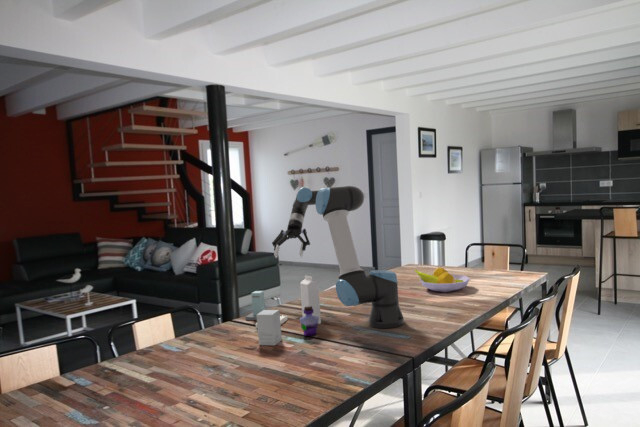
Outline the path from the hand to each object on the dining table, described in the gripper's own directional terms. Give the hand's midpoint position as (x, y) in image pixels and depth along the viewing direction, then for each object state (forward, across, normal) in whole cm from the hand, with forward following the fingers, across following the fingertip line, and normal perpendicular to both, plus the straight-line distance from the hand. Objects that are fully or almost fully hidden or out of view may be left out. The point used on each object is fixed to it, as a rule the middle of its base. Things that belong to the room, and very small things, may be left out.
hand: (288, 255), depth 241 cm
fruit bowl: (-12, -72, -53) cm, 90 cm away
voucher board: (+36, +2, -4) cm, 36 cm away
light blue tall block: (+27, +13, -10) cm, 32 cm away
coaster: (+28, +13, -11) cm, 33 cm away
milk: (+35, -17, -5) cm, 40 cm away
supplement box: (+54, -8, +13) cm, 56 cm away
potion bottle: (+46, -21, +5) cm, 51 cm away
